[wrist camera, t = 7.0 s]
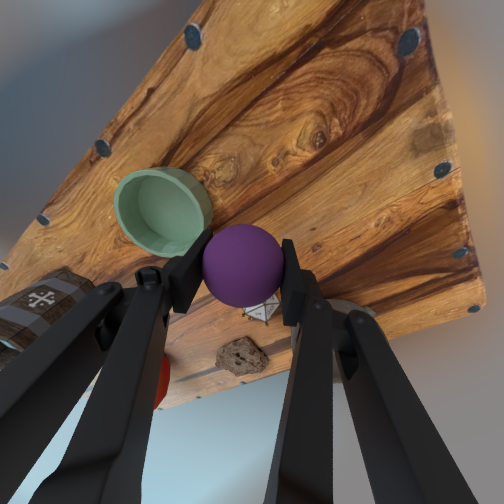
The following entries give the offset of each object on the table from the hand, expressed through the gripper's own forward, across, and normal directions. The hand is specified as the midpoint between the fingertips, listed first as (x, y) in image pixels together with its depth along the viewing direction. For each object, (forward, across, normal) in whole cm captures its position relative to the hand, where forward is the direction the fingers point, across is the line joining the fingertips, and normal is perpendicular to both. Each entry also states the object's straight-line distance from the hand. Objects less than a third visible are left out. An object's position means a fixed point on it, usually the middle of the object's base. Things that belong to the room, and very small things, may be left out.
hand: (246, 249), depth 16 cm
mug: (+17, -38, -29) cm, 51 cm away
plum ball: (-3, 0, 0) cm, 3 cm away
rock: (+17, 0, -43) cm, 47 cm away
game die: (+17, +3, -18) cm, 25 cm away
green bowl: (+17, -14, -3) cm, 22 cm away
